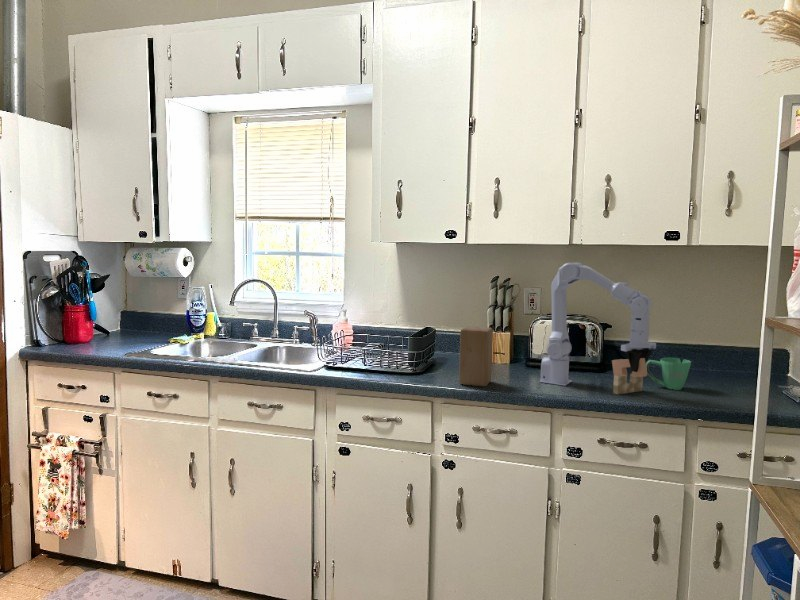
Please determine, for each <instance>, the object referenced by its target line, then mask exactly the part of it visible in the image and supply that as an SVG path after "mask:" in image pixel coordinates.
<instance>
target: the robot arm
mask: <svg viewBox="0 0 800 600" xmlns="http://www.w3.org/2000/svg"><path fill="white" fill-rule="evenodd" d="M579 280H584V281H585V280H586V281H590V282H593V283H594V284H596V285H598V286H599V287H601V288H603V289H605V290H607V291H609V293H610V296H611V297H612V298H614V299H615V300H617V301H618V302H620V303H622V304H623V305H625V306H626V307H629V308H630V310H631V316H630V328H629V329H630V332H629V333H630V334H629V342H627V343H625V344H620V351H622V352H624V354H625V355H626V357H627V359H629V363H630V367H629V368H630V370H631V372H632V371H634V372H637V371H638V367H639V361H640V358H645V363H647V361H649V358H650V357H651V355H652V354H653V350H654V349H657V342H654V341H653V342H651V341H649V336H650V334H649V333H650V320H651V319H650V315H651V313H650V312H651V311H650V309H651V307H652V305H653V303H652V299H651V298H650V297H649V296H648V295H647V294H645V293H641V291H640V290H636V289H633V288H632V287H630V286H629V283H626V282H622V281H620V282H615V281H613V280H611V279H609V278H608V277H606V276H605V275H603V274H602V273H600V272H598V271H597V270H596V269H594V268H592V267H590V266H588V265H584V264H583V263H582V262H579V261H578V262H577V261H575V262H566V263H564V264H563V265H562V266H560V267H558V269H557V273H556V275H555V276H554V279H552V282H551V284H550V285H551V334H550V335H549V338H548V344H547V346H546V353H547V355H548V356H544V357H542V359H541V363H540V380H539V382H540V383H545V384H551V385H558V386H565V387H566V386H567V385H569V384H570V383H571V382H572V380H571V379H569V371H570V370H569V369H570V367H569V365H570V357H569V355H570V354H571V352H572V349H573V347H572V344H571V342H570V336H569V333H568V329H567V328H568V327H567V325H568V324H567V323H568V321H567V320H568V319H567V313H568V312H567V311H568V310H567V309H568V308H567V289H568V288H569V287H570V286H571V285H572V284H573V283H575V282H577V281H579ZM652 349H653V350H652Z"/></svg>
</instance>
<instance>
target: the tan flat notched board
mask: <svg viewBox="0 0 800 600" xmlns="http://www.w3.org/2000/svg"><path fill="white" fill-rule="evenodd" d="M611 364H612V365H611V366H612V372H613V377H614V376H616V375H626V376H627V378H628V369H627V368H631V367H630V363H629V359H628V358H625V359H623V358H620V359H613V360H611ZM632 373H633V377H643V378H644V377H648V374H647V370H646V363H645V358H640V361H639V367H638V371H637V372H634V371H631V374H632Z"/></svg>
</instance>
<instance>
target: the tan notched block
mask: <svg viewBox="0 0 800 600" xmlns="http://www.w3.org/2000/svg"><path fill="white" fill-rule="evenodd" d="M627 376H628V375H627ZM627 376H626V375H616V376H614V375H613V387H612V389H613V392H612V394H615V395H623V394H629V393H630V394H631V393H636V392H643V384H644V383H643V381H644V377H633V373H632V372H631V373H630V374H629V382H627V381H628V377H627Z"/></svg>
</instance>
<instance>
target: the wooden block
mask: <svg viewBox="0 0 800 600" xmlns="http://www.w3.org/2000/svg"><path fill="white" fill-rule="evenodd" d="M493 331H494V330H493V328H492V327H487V326H471V325H467V326H465V327H464V328H462V329H460V332H459V333H460V334H459V366H458V367H459V368H458V369H459V370H458V374H459V375H458V382H459V384H460V385H462V384H463V385H462V386H471V385H472V387H480V388H481V387H482V388H484V387H487V386H488V385H489V383H491V381H492V370H493V369H492V368H493V364H492V363H493V336H494V335H493V334H494V332H493Z"/></svg>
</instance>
